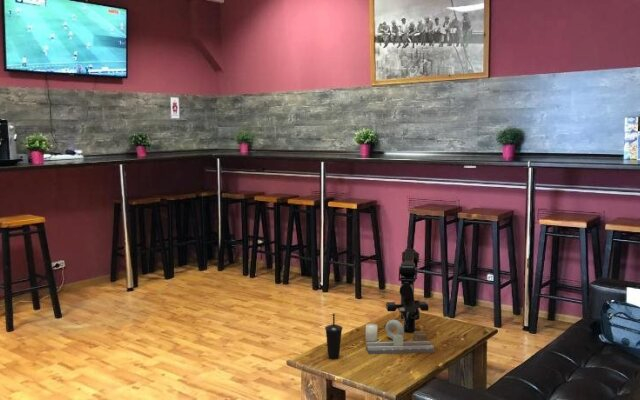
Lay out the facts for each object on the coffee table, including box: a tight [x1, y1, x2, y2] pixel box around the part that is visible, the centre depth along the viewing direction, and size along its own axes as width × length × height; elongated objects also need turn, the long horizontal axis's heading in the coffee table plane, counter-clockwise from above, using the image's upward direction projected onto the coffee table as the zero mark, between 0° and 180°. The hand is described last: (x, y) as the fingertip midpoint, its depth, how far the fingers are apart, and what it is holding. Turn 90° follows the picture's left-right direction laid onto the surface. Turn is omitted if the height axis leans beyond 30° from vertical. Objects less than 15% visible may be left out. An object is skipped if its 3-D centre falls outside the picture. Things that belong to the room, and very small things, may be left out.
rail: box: [365, 340, 435, 355], centre depth 273 cm, size 8×30×3 cm, turn 93°
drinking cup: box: [324, 313, 343, 360], centre depth 264 cm, size 8×8×20 cm
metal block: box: [413, 330, 428, 342], centre depth 285 cm, size 5×5×4 cm
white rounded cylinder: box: [365, 323, 378, 343], centre depth 286 cm, size 6×6×7 cm
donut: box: [384, 319, 405, 340], centre depth 286 cm, size 10×4×10 cm, turn 50°
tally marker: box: [392, 335, 404, 346], centre depth 273 cm, size 4×4×5 cm
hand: (406, 324), depth 272 cm, fingers closed
